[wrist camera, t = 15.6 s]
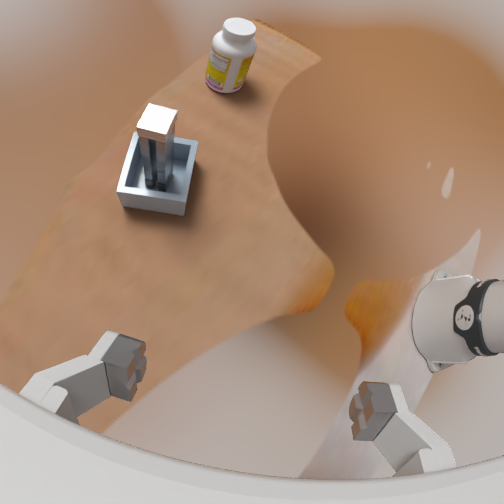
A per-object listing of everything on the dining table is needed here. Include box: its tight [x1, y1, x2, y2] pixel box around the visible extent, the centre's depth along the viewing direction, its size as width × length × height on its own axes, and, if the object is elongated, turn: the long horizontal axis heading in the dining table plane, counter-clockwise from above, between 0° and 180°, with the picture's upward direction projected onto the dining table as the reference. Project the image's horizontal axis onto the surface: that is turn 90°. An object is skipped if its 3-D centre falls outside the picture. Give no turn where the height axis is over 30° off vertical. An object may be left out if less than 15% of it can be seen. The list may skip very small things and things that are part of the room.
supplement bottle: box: [205, 18, 257, 93], centre depth 41 cm, size 7×7×13 cm
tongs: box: [137, 103, 177, 193], centre depth 33 cm, size 3×3×14 cm
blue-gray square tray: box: [116, 132, 198, 216], centre depth 38 cm, size 9×9×5 cm
